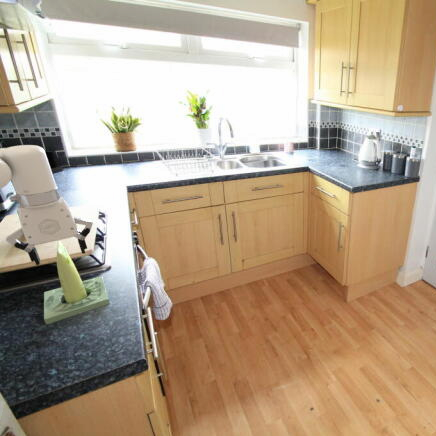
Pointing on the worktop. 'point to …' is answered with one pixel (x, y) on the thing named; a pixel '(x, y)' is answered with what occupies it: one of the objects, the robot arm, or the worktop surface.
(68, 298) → the yellow-green tapered cone
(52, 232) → the robot arm
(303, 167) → the worktop surface
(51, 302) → the base pad
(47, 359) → the worktop surface
